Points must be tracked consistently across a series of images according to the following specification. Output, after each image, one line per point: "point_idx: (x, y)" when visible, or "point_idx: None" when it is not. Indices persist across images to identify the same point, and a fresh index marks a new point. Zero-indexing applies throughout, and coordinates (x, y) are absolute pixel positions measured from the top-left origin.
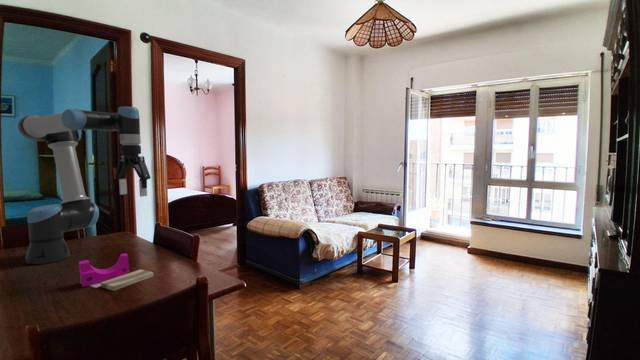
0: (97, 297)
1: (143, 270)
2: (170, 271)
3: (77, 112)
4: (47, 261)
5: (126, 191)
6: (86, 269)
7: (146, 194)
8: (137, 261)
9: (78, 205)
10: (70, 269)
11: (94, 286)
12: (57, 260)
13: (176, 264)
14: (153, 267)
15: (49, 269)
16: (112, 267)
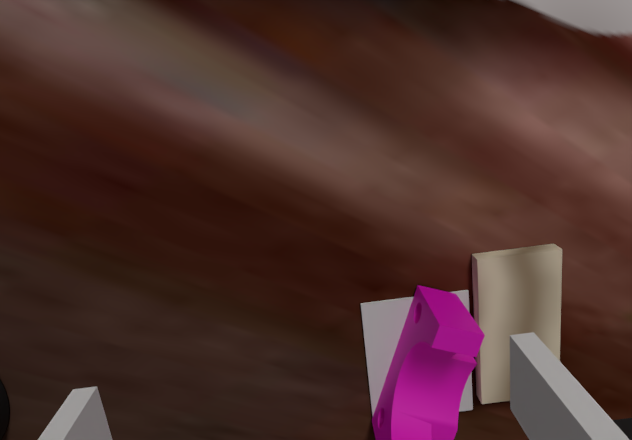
0: None
1: (503, 261)
2: (569, 171)
3: None
4: (4, 426)
5: (84, 414)
6: None
7: (542, 349)
8: (304, 187)
9: None
10: (177, 392)
11: (462, 409)
12: (3, 393)
13: (514, 100)
14: (453, 187)
15: None
16: (424, 355)
